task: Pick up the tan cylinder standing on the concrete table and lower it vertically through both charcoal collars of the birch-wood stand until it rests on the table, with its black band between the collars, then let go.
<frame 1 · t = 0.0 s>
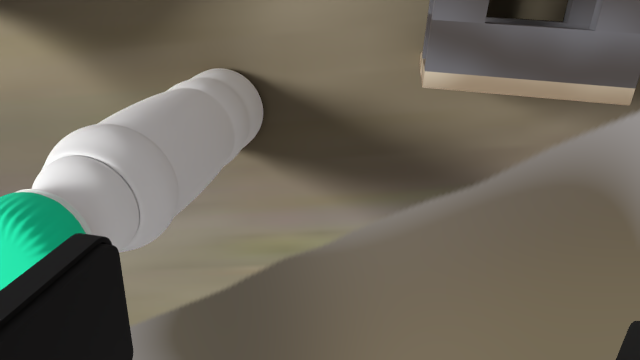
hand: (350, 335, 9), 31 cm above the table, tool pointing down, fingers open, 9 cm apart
water bottle: (227, 106, 41), on the table
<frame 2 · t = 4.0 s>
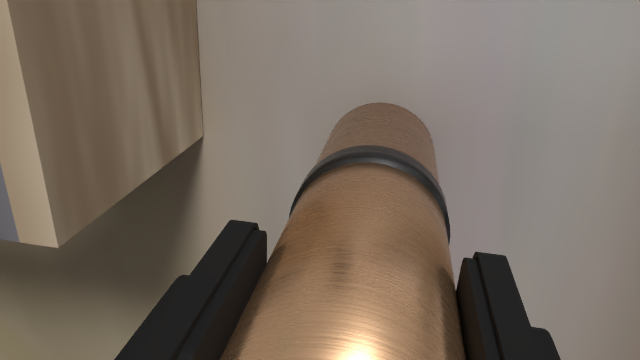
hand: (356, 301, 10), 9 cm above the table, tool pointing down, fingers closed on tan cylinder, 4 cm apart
tan cylinder: (379, 154, 18), on the table, touching gripper
when the fingers open (10 cm above the table, at t = 10.2 s): tan cylinder drops 1 cm, on the table.
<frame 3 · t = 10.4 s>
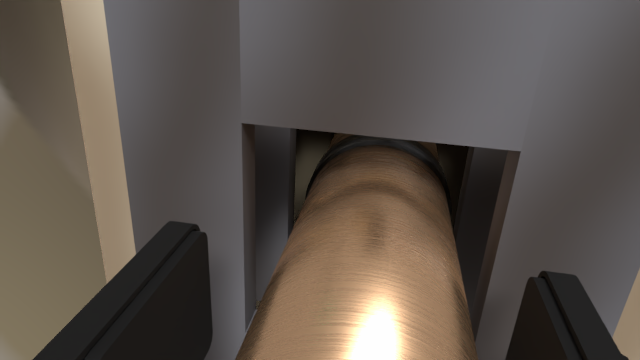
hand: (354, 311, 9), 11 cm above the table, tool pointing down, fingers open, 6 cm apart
tan cylinder: (384, 143, 19), on the table
collar stand: (381, 142, 19), on the table
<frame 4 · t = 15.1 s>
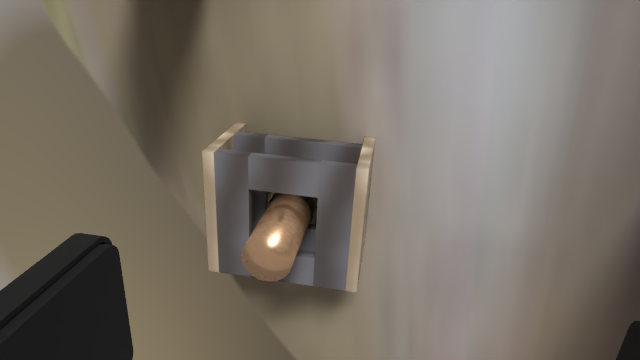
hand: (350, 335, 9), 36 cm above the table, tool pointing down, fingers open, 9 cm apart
tan cylinder: (303, 185, 48), on the table
collar stand: (302, 185, 48), on the table
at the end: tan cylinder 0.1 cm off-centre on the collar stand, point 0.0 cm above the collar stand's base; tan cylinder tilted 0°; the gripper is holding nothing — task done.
